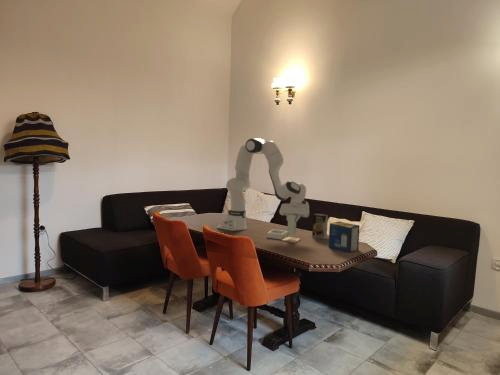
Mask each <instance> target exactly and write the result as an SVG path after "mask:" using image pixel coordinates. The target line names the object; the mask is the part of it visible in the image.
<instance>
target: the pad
mask: <svg viewBox="0 0 500 375" xmlns="http://www.w3.org/2000/svg"><path fill="white" fill-rule="evenodd" d="M300 240H301V238H299V237H292V236H287V237H285V238H284V239H281V241H282V242H286V243H295V244H297V243H298V242H300Z"/></svg>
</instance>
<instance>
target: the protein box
mask: <svg viewBox="0 0 500 375" xmlns="http://www.w3.org/2000/svg"><path fill="white" fill-rule="evenodd" d="M360 226H361V225H360V224H355V223H348V222H343V221H334V222H329V232H328V248H330V249H335V250H338V251H341V252H345V253H352V252H355V251H359V243H360V242H359V241H360Z"/></svg>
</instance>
